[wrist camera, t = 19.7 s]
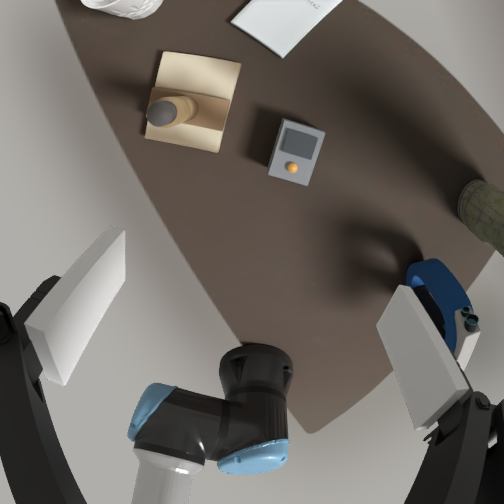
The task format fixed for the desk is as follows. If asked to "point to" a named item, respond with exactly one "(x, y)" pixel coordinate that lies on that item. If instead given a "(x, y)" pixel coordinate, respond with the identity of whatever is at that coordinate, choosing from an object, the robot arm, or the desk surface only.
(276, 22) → the external hard drive
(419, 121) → the desk surface
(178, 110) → the peg
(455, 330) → the handheld scanner
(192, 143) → the panel
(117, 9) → the white cup
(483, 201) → the thermos
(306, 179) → the box
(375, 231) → the desk surface
